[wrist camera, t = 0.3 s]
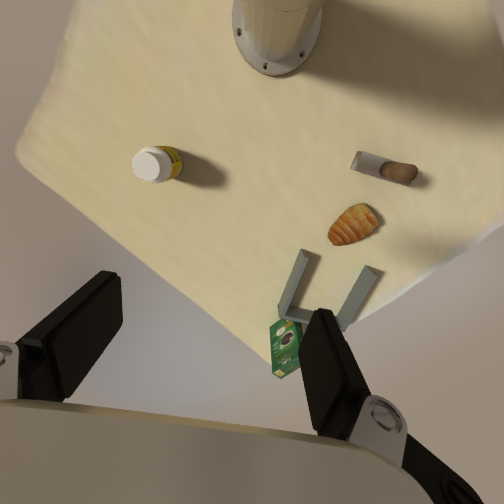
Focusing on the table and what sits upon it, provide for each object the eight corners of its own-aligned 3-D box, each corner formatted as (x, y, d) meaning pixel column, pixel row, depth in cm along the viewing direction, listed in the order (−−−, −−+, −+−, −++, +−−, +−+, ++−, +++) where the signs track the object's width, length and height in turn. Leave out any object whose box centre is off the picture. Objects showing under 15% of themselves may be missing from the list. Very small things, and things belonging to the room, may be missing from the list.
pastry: (337, 250, 49) (344, 258, 46) (319, 227, 47) (324, 234, 44) (377, 222, 46) (387, 228, 43) (360, 197, 44) (368, 201, 41)
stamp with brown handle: (357, 151, 41) (382, 153, 32) (407, 166, 42) (444, 172, 33) (349, 168, 42) (372, 174, 34) (398, 183, 43) (432, 193, 35)
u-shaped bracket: (300, 248, 49) (304, 257, 45) (369, 266, 50) (378, 275, 47) (277, 306, 55) (279, 318, 52) (338, 320, 57) (344, 332, 54)
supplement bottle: (189, 158, 41) (171, 163, 32) (175, 183, 43) (154, 194, 34) (162, 138, 40) (136, 137, 31) (148, 165, 42) (120, 171, 33)
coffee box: (275, 333, 59) (281, 381, 47) (268, 327, 58) (271, 374, 47) (299, 316, 57) (311, 362, 45) (291, 309, 56) (301, 354, 44)
